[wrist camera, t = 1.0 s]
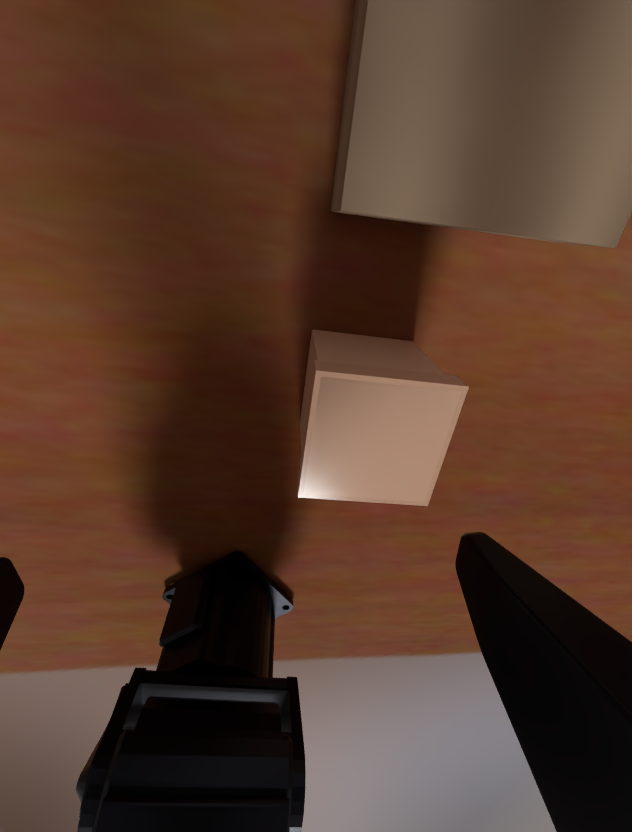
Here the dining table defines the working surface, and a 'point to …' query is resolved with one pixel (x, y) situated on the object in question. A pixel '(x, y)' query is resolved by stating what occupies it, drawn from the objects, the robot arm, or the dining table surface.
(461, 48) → the beige block
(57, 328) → the dining table surface
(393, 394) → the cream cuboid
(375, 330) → the dining table surface
